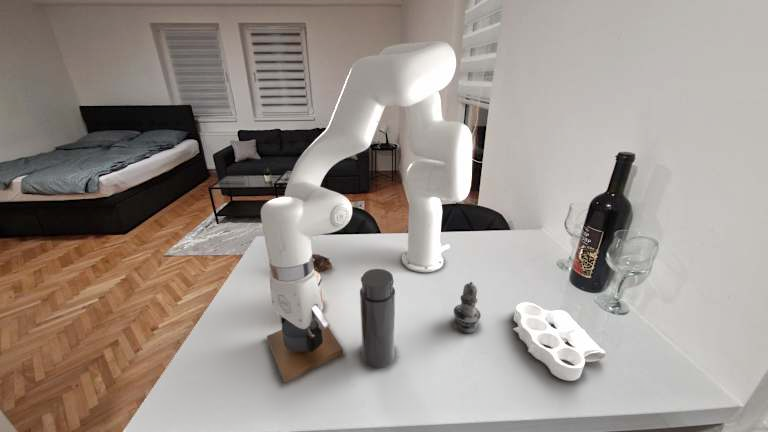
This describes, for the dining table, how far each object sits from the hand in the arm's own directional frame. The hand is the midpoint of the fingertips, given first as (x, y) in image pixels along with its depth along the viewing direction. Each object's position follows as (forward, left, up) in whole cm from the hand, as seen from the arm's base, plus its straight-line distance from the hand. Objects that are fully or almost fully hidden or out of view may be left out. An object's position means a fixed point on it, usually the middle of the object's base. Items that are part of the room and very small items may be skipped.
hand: (302, 337), depth 62 cm
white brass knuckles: (-45, +27, -3) cm, 52 cm away
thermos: (-12, +10, -3) cm, 16 cm away
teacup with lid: (-5, -12, -3) cm, 13 cm away
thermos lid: (0, 0, 0) cm, 0 cm away
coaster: (0, 0, -3) cm, 3 cm away
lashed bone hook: (-10, -29, -3) cm, 31 cm away
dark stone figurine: (-33, +14, -3) cm, 36 cm away
